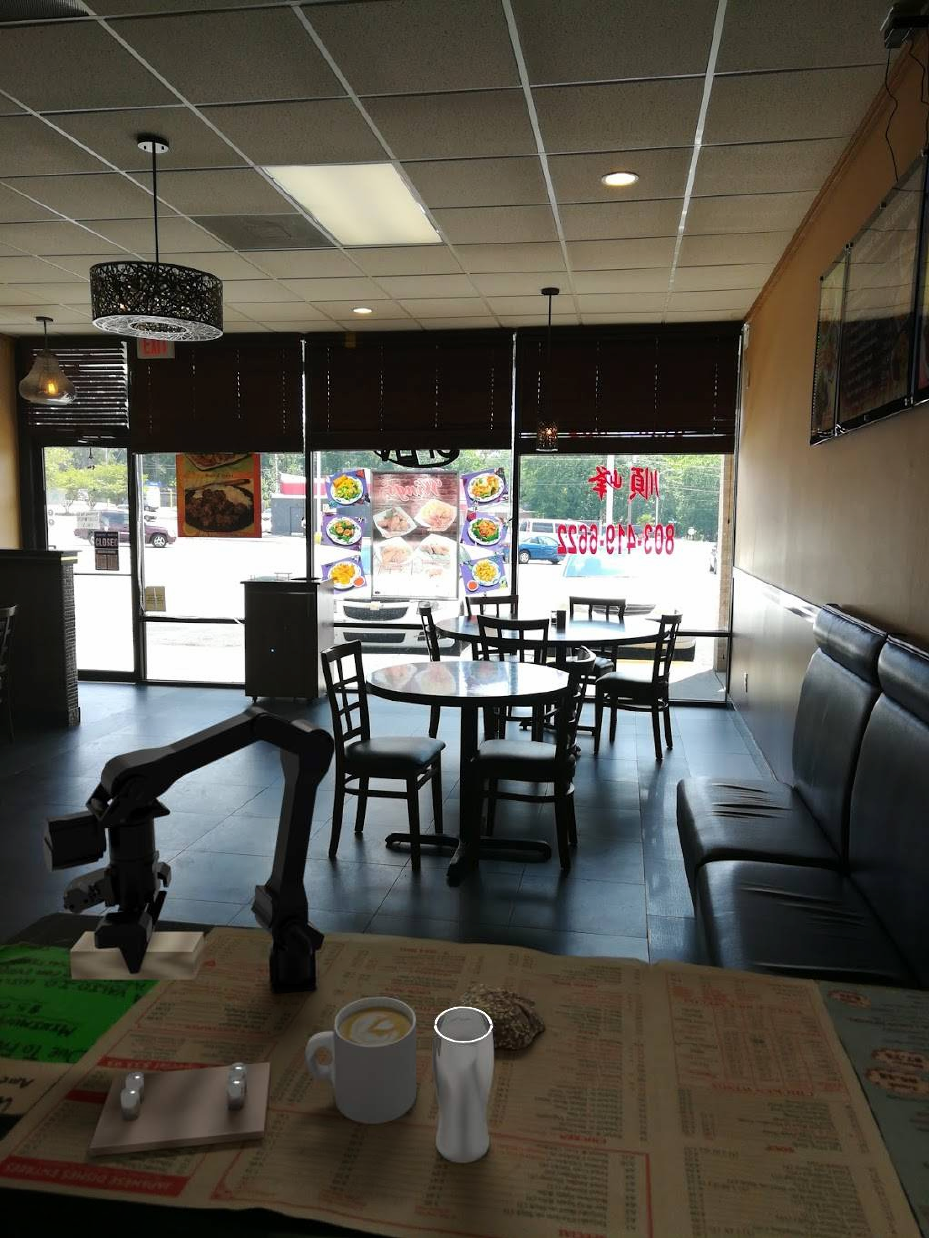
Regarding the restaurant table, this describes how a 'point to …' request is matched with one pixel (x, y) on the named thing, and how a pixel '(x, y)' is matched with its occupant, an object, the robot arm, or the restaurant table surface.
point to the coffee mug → (369, 1059)
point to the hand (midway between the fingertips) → (139, 961)
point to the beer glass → (463, 1081)
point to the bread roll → (505, 1015)
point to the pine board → (161, 962)
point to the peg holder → (183, 1109)
